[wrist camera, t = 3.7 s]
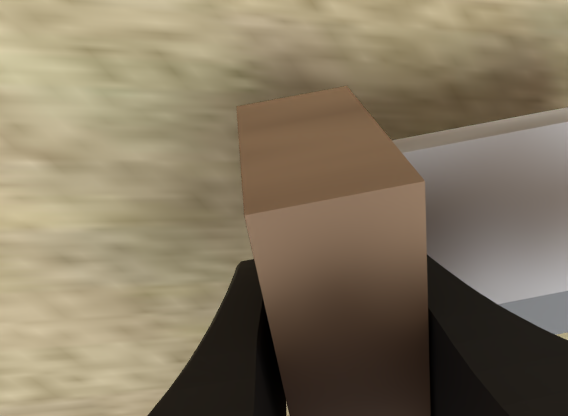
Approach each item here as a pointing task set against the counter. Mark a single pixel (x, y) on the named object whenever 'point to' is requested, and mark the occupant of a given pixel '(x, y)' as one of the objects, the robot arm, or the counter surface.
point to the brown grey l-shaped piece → (390, 238)
